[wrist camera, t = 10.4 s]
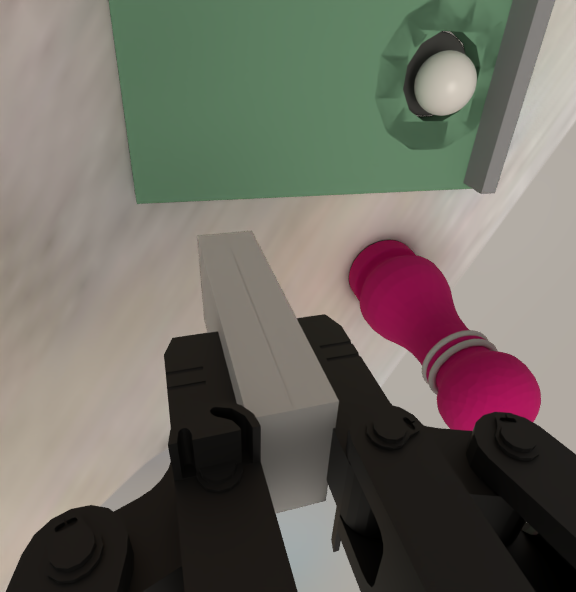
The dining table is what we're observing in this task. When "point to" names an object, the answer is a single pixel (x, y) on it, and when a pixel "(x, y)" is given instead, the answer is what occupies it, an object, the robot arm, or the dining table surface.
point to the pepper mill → (439, 337)
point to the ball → (445, 82)
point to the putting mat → (316, 94)
